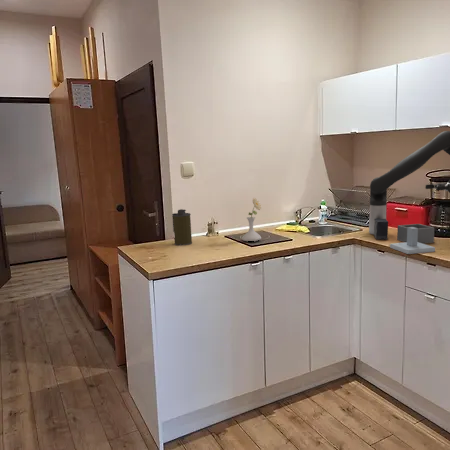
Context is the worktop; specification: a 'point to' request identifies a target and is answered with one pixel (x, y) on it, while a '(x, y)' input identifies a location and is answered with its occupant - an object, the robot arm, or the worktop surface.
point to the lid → (412, 243)
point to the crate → (423, 233)
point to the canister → (182, 228)
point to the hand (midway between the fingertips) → (431, 187)
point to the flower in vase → (251, 234)
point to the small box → (381, 229)
